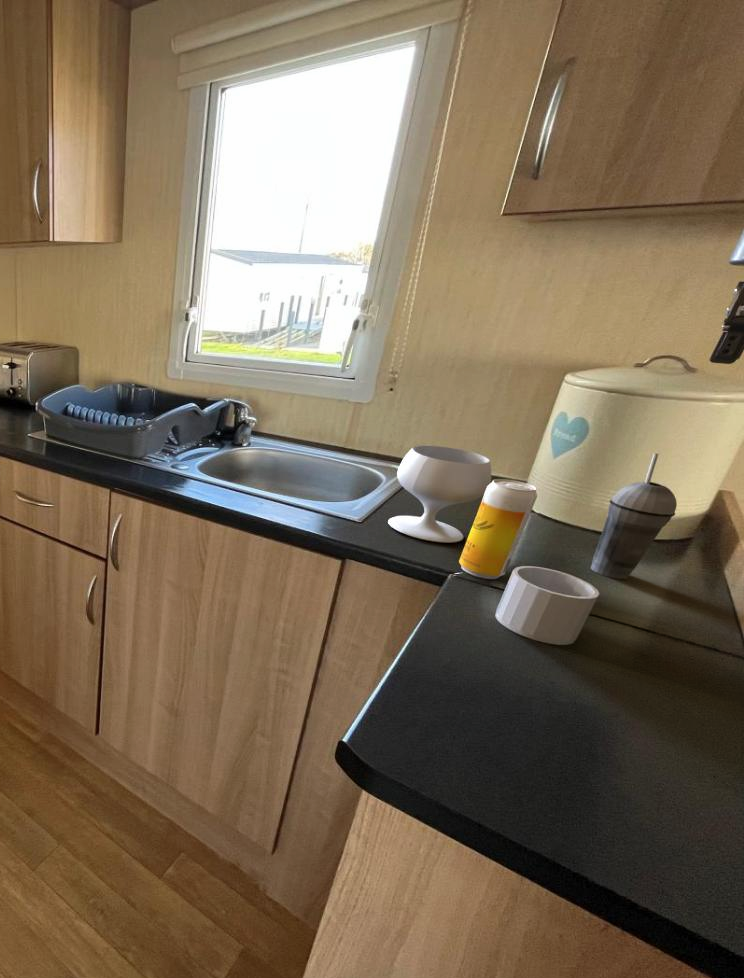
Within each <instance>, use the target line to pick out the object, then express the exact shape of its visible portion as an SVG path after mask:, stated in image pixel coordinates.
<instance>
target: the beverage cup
mask: <svg viewBox="0 0 744 978" xmlns="http://www.w3.org/2000/svg"><path fill="white" fill-rule="evenodd" d="M658 457H659V453H658V452H657V453H656V452H653V455H652V458H651V461H650V464H649V467H648V472H647V474H646V476H645V477H646V478H645V481H638V482H633V483H630V484H627V485H626V486H624V487H621V488H620V489H619V490H618V491H617V492H616V493H615V494H614V495H613V497H612V498H611V499H610V500H609V505H608V510H607V517H606V519H605V523H604V526H603V529H602V531H601V535H600V537H599V540H598V543H597V547H596V549H595V552H594V555H593V558H592V562H591V565H590V570H592V571H593V572H595V573H596V574H599V575H601V576H604V577H608V578H612V579H616V580H626V579H628V578H629V577H630V575H631V574H632V572H633V571H634V570H635V569H636V567H637V566H638V565H639V563H640V561H641V560H642V558H643V557H644V556H645V554H646V553H647V552H648V550H649V548H650V547H651V545H652V544H653V543H654V541H655V539H656V538H657V537H658V535H659V534H660V532H661V530H662V529H663V528H664V527H666V525H667V524H668V523H669V522H670V521H671V520H672V517H674V516H676V510H677V507H678V506H677V504H678V503H677V497H676V496H675V494H674V493H673V491H672V490H671V489H670V488H668V487H667V486H666V485H664V484H661V483H659V482H653V481H651V480H652V478H653V474H654V470H655V468H656V464H657V461H658Z"/></svg>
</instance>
